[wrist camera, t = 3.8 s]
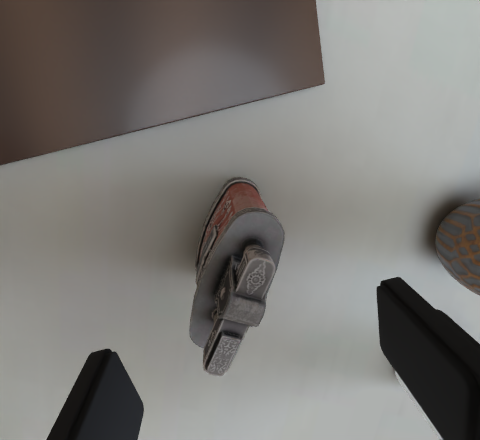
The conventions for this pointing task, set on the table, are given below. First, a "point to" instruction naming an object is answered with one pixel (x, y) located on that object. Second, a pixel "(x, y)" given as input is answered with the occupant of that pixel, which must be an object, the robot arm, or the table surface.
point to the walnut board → (142, 64)
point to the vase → (461, 244)
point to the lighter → (233, 272)
